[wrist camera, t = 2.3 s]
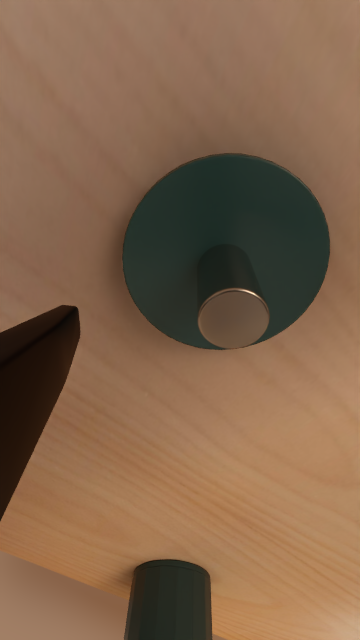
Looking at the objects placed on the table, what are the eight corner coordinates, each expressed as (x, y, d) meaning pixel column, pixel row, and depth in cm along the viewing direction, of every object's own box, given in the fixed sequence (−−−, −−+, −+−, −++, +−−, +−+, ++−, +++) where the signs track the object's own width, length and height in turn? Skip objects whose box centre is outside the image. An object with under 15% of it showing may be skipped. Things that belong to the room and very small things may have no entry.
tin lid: (90, 209, 13) (37, 254, 9) (292, 106, 11) (355, 98, 7) (176, 355, 17) (169, 437, 13) (337, 301, 15) (395, 377, 11)
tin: (119, 566, 32) (95, 707, 24) (191, 554, 30) (189, 704, 22) (155, 595, 35) (144, 726, 28) (221, 586, 33) (228, 725, 26)
